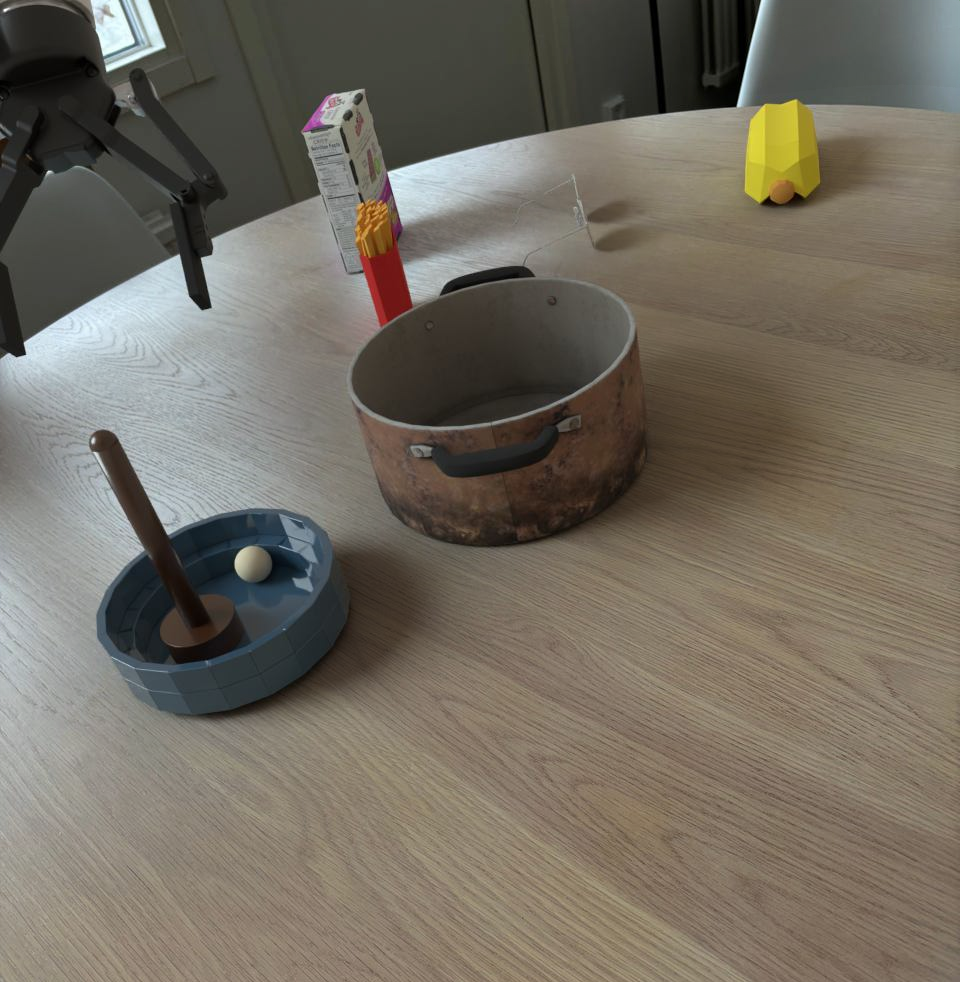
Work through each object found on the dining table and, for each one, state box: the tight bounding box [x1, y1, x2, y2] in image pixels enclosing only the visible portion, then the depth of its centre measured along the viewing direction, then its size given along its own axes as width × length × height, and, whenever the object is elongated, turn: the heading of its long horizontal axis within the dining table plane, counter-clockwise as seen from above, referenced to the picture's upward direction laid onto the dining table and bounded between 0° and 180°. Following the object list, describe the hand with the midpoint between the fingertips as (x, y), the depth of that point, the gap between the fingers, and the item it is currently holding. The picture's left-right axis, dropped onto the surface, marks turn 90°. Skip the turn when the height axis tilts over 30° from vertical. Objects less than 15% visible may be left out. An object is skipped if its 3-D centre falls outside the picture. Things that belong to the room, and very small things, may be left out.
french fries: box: [355, 199, 414, 328], centre depth 106 cm, size 8×4×12 cm, turn 7°
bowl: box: [95, 507, 351, 716], centre depth 76 cm, size 17×17×5 cm
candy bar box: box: [300, 88, 404, 275], centre depth 120 cm, size 11×5×16 cm, turn 171°
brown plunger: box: [88, 428, 244, 664], centre depth 71 cm, size 6×6×18 cm
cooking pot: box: [345, 265, 649, 547], centre depth 83 cm, size 30×22×11 cm
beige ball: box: [235, 546, 272, 583], centre depth 80 cm, size 3×3×3 cm
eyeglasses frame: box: [512, 173, 597, 266], centre depth 116 cm, size 14×8×5 cm, turn 2°
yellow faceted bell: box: [744, 98, 821, 205], centre depth 114 cm, size 18×7×8 cm
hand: (106, 327), depth 72 cm, fingers open, 13 cm apart
